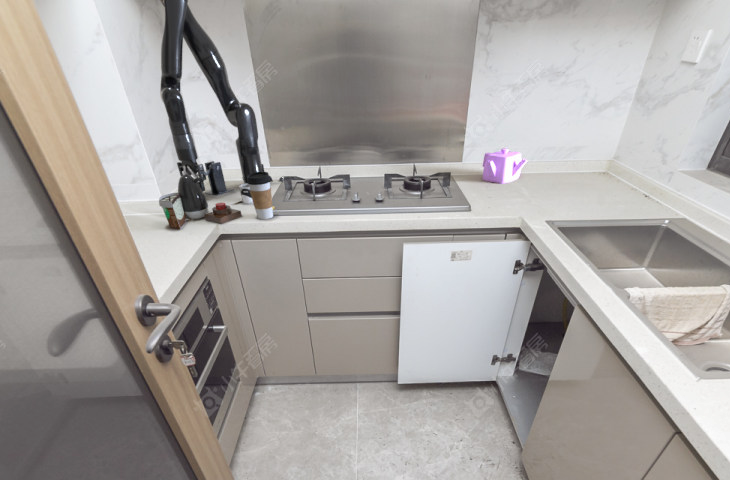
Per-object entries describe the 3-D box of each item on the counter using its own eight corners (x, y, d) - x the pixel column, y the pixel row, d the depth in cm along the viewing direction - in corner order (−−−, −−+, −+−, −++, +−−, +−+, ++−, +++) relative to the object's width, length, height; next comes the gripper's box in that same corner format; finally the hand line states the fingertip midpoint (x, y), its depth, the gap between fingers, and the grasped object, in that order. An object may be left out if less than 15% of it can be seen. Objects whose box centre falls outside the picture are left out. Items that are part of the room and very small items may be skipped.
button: (222, 206, 160) (220, 202, 159) (228, 208, 158) (227, 203, 157) (214, 209, 158) (213, 204, 157) (221, 210, 156) (219, 205, 155)
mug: (240, 204, 174) (237, 187, 170) (245, 200, 179) (241, 183, 175) (264, 204, 173) (261, 187, 169) (268, 199, 178) (265, 182, 174)
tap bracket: (217, 198, 183) (209, 165, 175) (205, 195, 187) (196, 164, 179) (234, 192, 190) (227, 161, 182) (222, 190, 193) (215, 159, 185)
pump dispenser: (202, 222, 158) (190, 178, 148) (177, 221, 160) (164, 177, 150) (216, 213, 165) (205, 171, 156) (192, 212, 167) (180, 171, 158)
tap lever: (198, 187, 176) (195, 182, 174) (191, 186, 178) (188, 181, 176) (220, 168, 182) (218, 163, 180) (213, 167, 184) (210, 162, 182)
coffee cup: (280, 214, 162) (273, 171, 153) (269, 221, 156) (261, 177, 147) (261, 212, 164) (253, 170, 155) (249, 219, 158) (240, 176, 149)
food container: (172, 220, 161) (163, 192, 154) (188, 219, 161) (180, 191, 155) (161, 231, 151) (152, 202, 145) (179, 230, 151) (170, 201, 145)
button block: (226, 213, 165) (223, 202, 163) (242, 216, 161) (239, 205, 159) (205, 220, 159) (202, 209, 157) (221, 224, 155) (218, 213, 152)
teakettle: (515, 174, 197) (519, 144, 190) (524, 183, 184) (530, 151, 176) (478, 175, 198) (481, 145, 190) (485, 184, 184) (489, 153, 177)
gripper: (204, 146, 167) (215, 190, 178) (181, 143, 174) (193, 186, 184) (188, 149, 163) (200, 194, 173) (165, 147, 169) (178, 190, 179)
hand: (196, 190), depth 178 cm, fingers open, 7 cm apart
